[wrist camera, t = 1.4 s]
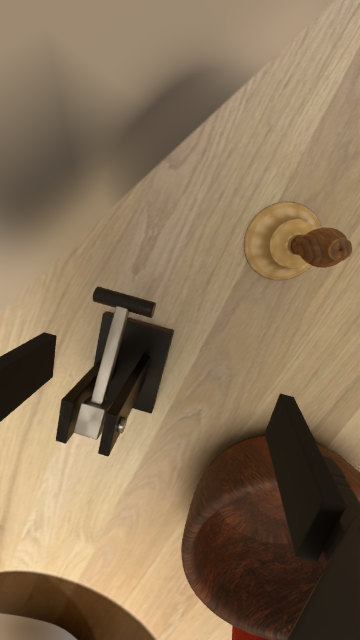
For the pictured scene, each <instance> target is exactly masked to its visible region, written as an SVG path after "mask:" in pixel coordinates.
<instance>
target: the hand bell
mask: <svg viewBox="0 0 360 640" xmlns="http://www.w3.org/2000/svg"><path fill="white" fill-rule="evenodd" d="M244 250H245V255H246V258H247V260H248V262H249V264H250V266H251V267H252V268H253V269H254V270H255V271H256V272H257V273H259V274H260V275H262V276H263V277H266V278H269V279H272V280H286V279H291V278H294V277H296V276H298V275H300V274H302V273H303V272H305V271H306V270H307V269H308V268H309V267H310V266H311V265H312V266H315V267H330V266H333V265H336V264H338V263H339V262H341V261H342V260H345V259H347V258H348V257H349V256H350V255H351V253H352V245H351V242H350V241H349V240H347V238H346V236H345V235H344V234H343V233H342V232H340V231H338V230H336V229H333V228H321V225H320V223H319V220H318V219H317V217H316V216H315V214H314V213H313V212H312V211H311V210H309V209H308V208H307V207H305V206H303V205H301V204H298V203H294V202H281V203H276V204H273V205H271V206H269V207H267V208H265V209H263V210H262V211H261V212H260V213H258V214H257V215H256V216H255V218H254V219H253V220H252V222H251V223H250V225H249V227H248V229H247V232H246V235H245V240H244Z"/></svg>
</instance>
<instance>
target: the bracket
mask: <svg viewBox="0 0 360 640" xmlns="http://www.w3.org/2000/svg"><path fill="white" fill-rule="evenodd" d="M113 316H114V313H110V312H105V313H104V314H103V317H102V323H101V328H100V334H99V340H98V345H97V351H96V356H95V362H94V366H93V367H92V368H91V369H90V370H89V372H88V373H87V374H86V375H85V376H84V377H83V378H82V379H81V380H80V381H79V382H78V383H77V384H76V385H75V386H74V387H73V388H72V389H71V390H70V392H69V393H68V394H67V395H66V396H65V397H64V398H63V399H62V400H61V407H60V414H59V421H58V428H57V435H56V441H59V442H62V443H67V441H68V440H69V438H70V437H71V436H72V434H73V433H74V429H75V426H76V422H77V418H78V414H79V411H80V407H81V403H82V402H84V401H85V400H86V399H87V398H89V397H90V396H91V395H93V391H94V387H95V383H96V380H97V376H98V372H99V369H100V365H101V361H102V357H103V354H104V350H105V346H106V342H107V339H108V335H109V331H110V328H111V324H112V320H113ZM173 332H174V331H173V330H170V329H167V328H163V327H159V326H156V325H152V324H149V323H145V322H142V321H138V320H135V319H131V318H128V319H127V323H126V326H125V330H124V334H123V337H122V341H121V345H120V348H119V352H118V356H117V359H116V363H115V367H114V370H113V374H112V378H111V381H110V385H109V389H108V393H107V396H106V400H109V401H112V402H113V403H112V405H111V407H110V408H109V410H108V411H107V413H106V417H105V422H104V427H103V432H102V437H101V442H100V447H99V451H98V453H99V454H102V455H105V456H109V455H110V452H111V450H112V448H113V446H114V444H115V442H116V440H117V438H118V436H119V434H120V433H123V431H124V429H125V426H126V423H127V418H128V416H129V414H130V412H131V409H132V408H134V409H138V410H141V411H144V412H148V413H152V411H153V408H154V404H155V401H156V397H157V393H158V389H159V385H160V382H161V378H162V374H163V370H164V366H165V363H166V359H167V355H168V351H169V348H170V344H171V340H172V336H173Z"/></svg>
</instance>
